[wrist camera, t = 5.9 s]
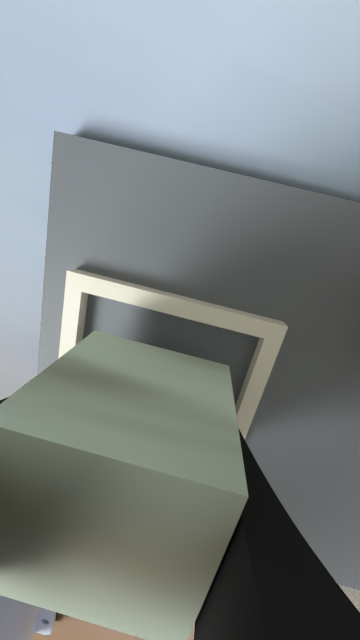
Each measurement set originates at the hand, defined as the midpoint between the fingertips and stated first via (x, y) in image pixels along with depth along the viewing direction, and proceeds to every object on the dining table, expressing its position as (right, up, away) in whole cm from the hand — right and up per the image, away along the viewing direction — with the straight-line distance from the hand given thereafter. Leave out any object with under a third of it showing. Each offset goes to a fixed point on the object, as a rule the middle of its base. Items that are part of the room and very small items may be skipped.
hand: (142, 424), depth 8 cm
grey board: (+5, 0, +3) cm, 6 cm away
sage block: (0, 0, +1) cm, 1 cm away
